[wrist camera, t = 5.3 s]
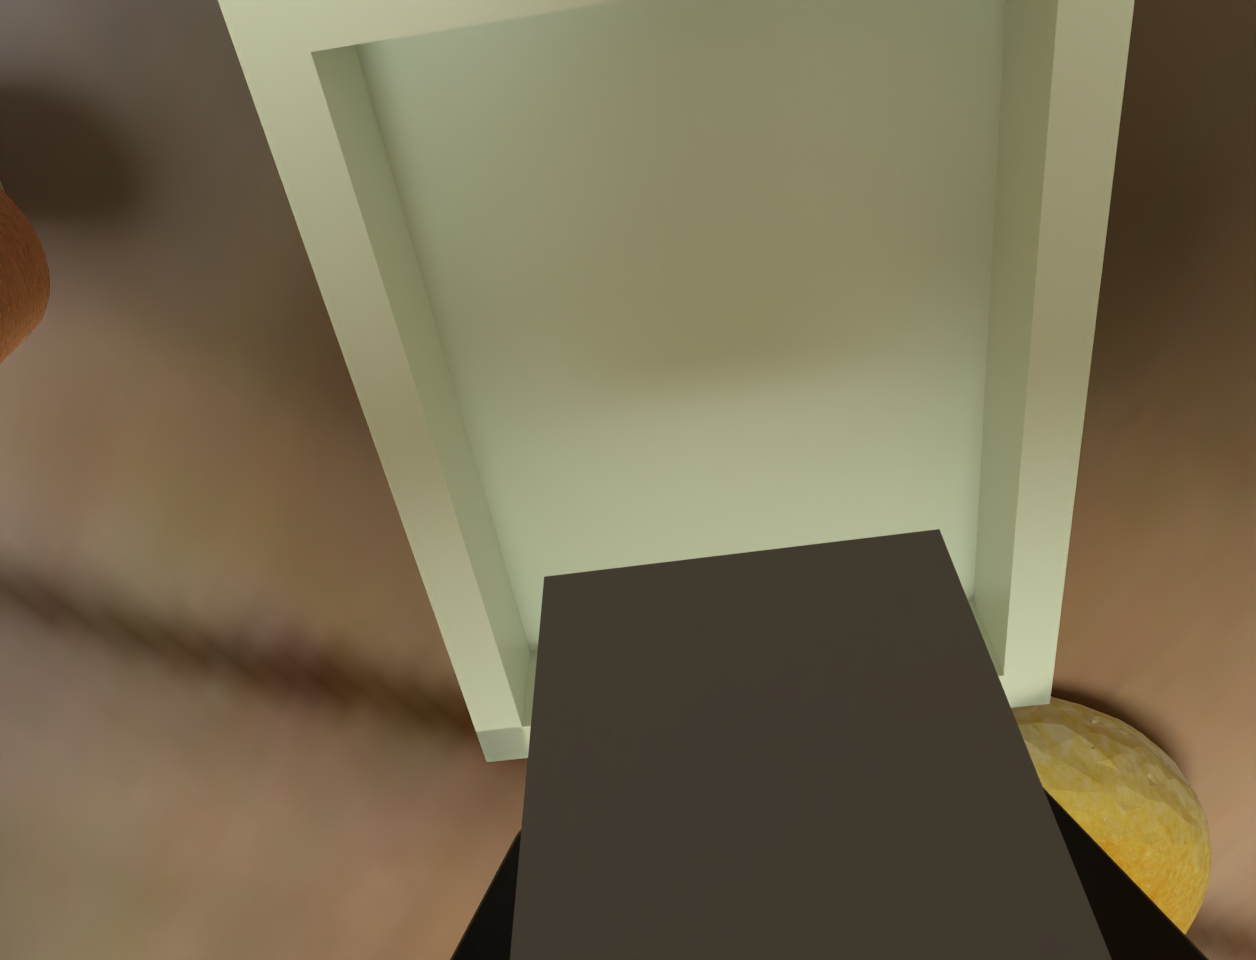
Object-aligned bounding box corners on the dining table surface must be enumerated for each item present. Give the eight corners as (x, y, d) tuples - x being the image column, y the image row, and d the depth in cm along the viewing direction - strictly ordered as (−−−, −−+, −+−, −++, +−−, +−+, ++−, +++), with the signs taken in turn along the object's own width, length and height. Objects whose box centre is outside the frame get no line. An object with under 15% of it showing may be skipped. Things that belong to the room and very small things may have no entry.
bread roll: (1185, 863, 24) (1273, 1038, 21) (812, 941, 26) (840, 1114, 23) (1158, 621, 20) (1264, 797, 17) (709, 736, 22) (725, 914, 18)
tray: (1073, -193, 12) (1156, -177, 10) (1008, 609, 19) (1049, 703, 17) (272, -53, 13) (212, -15, 11) (499, 666, 20) (486, 761, 18)
